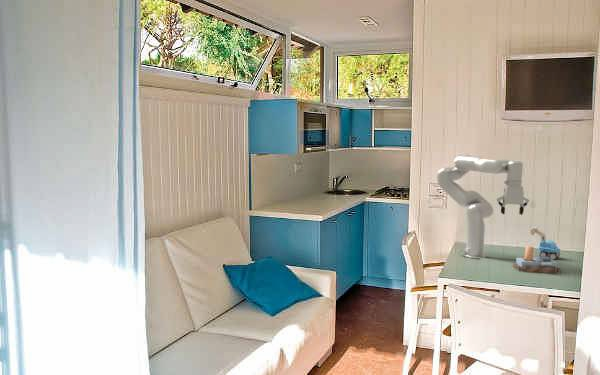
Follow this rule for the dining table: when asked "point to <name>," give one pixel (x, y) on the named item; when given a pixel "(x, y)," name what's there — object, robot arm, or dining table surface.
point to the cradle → (537, 269)
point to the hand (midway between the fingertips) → (511, 214)
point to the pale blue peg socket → (536, 262)
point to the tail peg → (529, 253)
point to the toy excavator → (546, 245)
